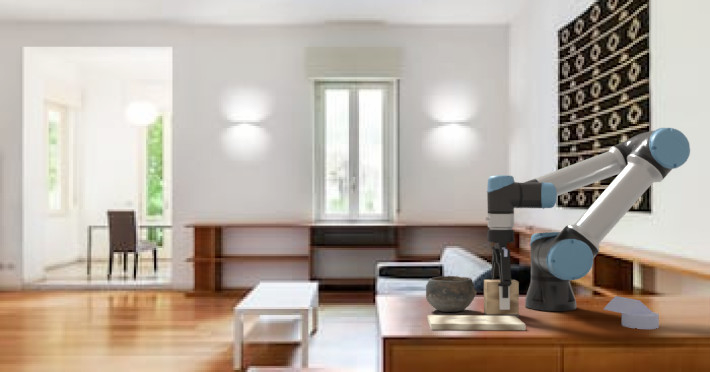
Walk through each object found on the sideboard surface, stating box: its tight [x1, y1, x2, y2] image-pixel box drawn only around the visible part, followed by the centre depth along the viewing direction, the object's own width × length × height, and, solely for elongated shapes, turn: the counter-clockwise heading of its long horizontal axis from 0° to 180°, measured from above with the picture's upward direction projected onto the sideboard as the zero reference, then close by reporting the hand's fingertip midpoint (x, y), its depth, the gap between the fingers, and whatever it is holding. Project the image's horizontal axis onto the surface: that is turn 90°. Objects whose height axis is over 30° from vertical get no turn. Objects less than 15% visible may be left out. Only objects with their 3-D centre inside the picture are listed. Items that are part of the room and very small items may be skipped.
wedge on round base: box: [603, 295, 660, 330], centre depth 168 cm, size 9×7×13 cm
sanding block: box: [483, 279, 520, 318], centre depth 181 cm, size 9×5×10 cm, turn 88°
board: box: [426, 314, 527, 331], centre depth 167 cm, size 24×12×2 cm, turn 88°
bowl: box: [425, 275, 478, 313], centre depth 188 cm, size 14×15×10 cm
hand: (501, 306), depth 181 cm, fingers open, 9 cm apart
